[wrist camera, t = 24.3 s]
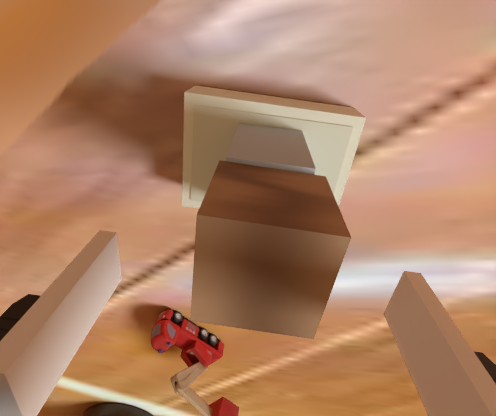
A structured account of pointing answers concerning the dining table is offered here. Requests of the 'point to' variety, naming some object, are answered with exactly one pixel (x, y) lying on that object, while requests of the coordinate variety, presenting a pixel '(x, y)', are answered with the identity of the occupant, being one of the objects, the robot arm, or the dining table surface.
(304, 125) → the plinth
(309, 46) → the dining table surface
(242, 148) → the block
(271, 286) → the block
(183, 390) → the toy fire truck
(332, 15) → the dining table surface
